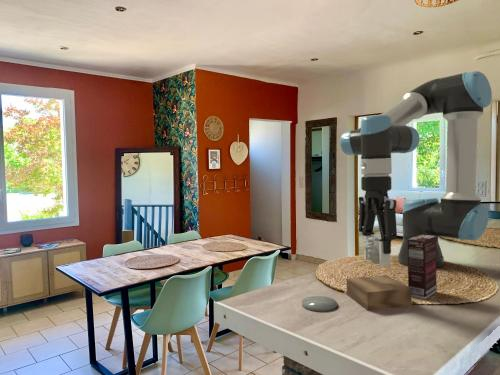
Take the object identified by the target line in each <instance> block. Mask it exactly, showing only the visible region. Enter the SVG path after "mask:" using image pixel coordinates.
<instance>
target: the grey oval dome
mask: <svg viewBox="0 0 500 375" xmlns="http://www.w3.org/2000/svg"><path fill="white" fill-rule="evenodd" d="M301 306H302V308H304V309H306V310H308V311H312V312H323V313H324V312H330V311H333V310H335V309H336V308H338V307H337V306H338V302H337V300H335V298H332V297H328V296H324V295H313V296H307V297H304V298H303V299H302V300H301Z"/></svg>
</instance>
